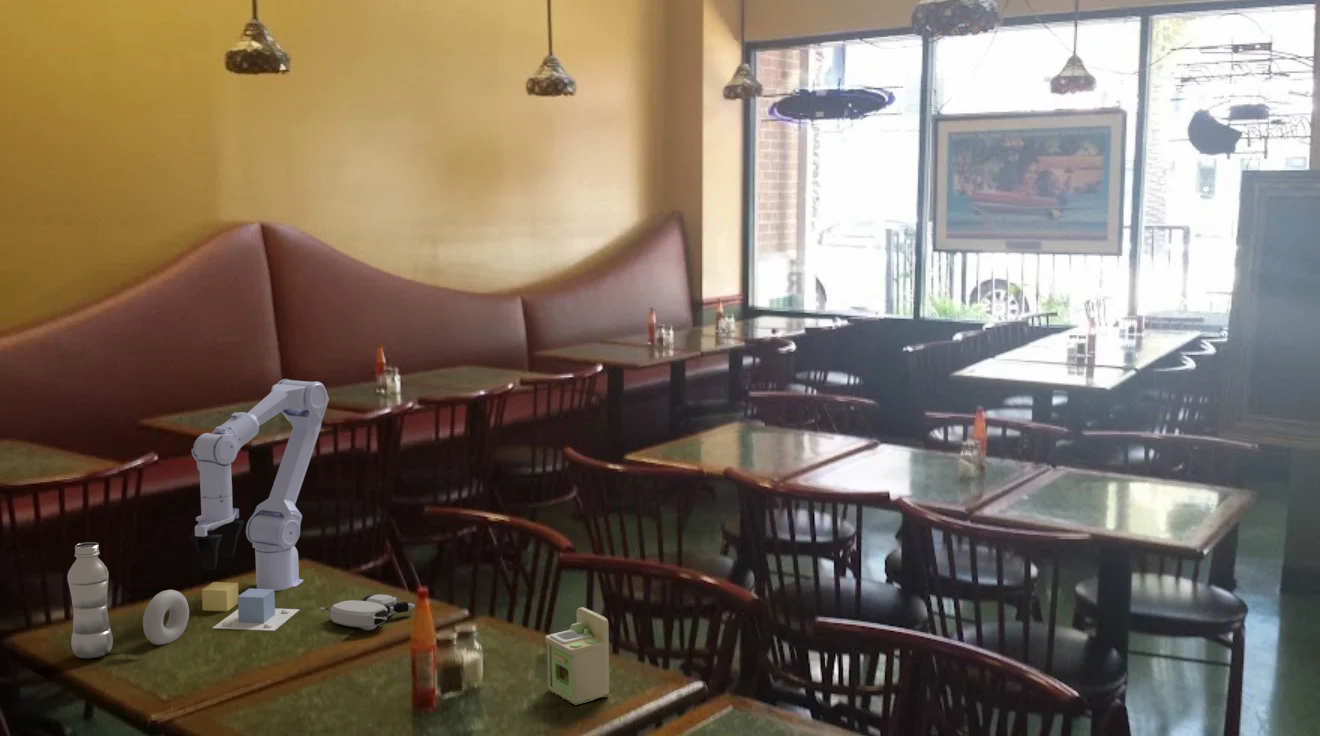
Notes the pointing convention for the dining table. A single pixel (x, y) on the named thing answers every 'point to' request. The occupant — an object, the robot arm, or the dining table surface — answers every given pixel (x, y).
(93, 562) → the plastic bottle
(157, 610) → the donut
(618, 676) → the dining table surface
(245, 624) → the plate
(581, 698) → the toy sink
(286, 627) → the dining table surface
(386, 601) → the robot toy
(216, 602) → the mustard block
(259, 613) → the slate block
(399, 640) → the dining table surface
